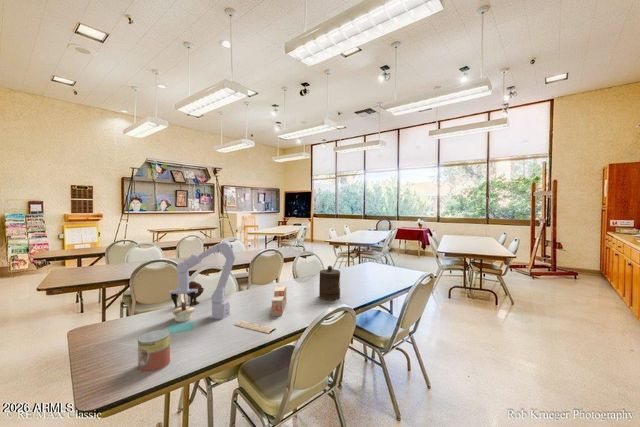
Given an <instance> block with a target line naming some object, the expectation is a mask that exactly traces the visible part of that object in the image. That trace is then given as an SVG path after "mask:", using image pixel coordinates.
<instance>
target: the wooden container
mask: <svg viewBox="0 0 640 427" xmlns="http://www.w3.org/2000/svg"><path fill="white" fill-rule="evenodd" d="M318 286H319V288H318V289H319V291H318V292H319V293H318V294H319V298H320V299H322V300H326V301H329V300H330V301H331V300H337V299H338V300H339V299H340V298H341V270H338V269H333V266H332V265H328V266H327V269H325V268H324V269H320V270H319V284H318Z"/></svg>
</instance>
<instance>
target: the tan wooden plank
mask: <svg viewBox="0 0 640 427" xmlns="http://www.w3.org/2000/svg"><path fill="white" fill-rule="evenodd" d="M233 326H235V327H239V328H244V329H246V330H247V329H248V330H250V331H251V330H252V331H255V332H260V333H264V334H268V335H269V334H270V332H271V331H274V330H277V329H276V328H275V327H270V326H265V325H263V324H262V325H261V324H258V323H253V322H249V321H244V320H238V321H236V322H235V323H233Z"/></svg>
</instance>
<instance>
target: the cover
mask: <svg viewBox="0 0 640 427" xmlns="http://www.w3.org/2000/svg"><path fill="white" fill-rule="evenodd" d="M180 304H181V307H177V308H175V309H173V310H172V314H173V315H174V316H175V315H186V314H190V313H192V312H193V313H194V312H195V307H193V306H190V305H188V306H187V303H186V302H185V301H184V302H181V303H180Z"/></svg>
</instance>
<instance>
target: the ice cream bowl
mask: <svg viewBox="0 0 640 427" xmlns="http://www.w3.org/2000/svg"><path fill="white" fill-rule="evenodd" d="M189 289H197V290H198V292H197V293H195V295H194V298H193V301H192V306H196V305H199V304H200V302H199V301H198V300H197V298H199V297H200V296H201V295H202V294H203V292H204V290H205V288H204V287H202V284H200V282H199V283H198V282H196V281H189ZM190 294H191V293H187V294H186V295H187V296H188V297H189V298H190Z"/></svg>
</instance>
